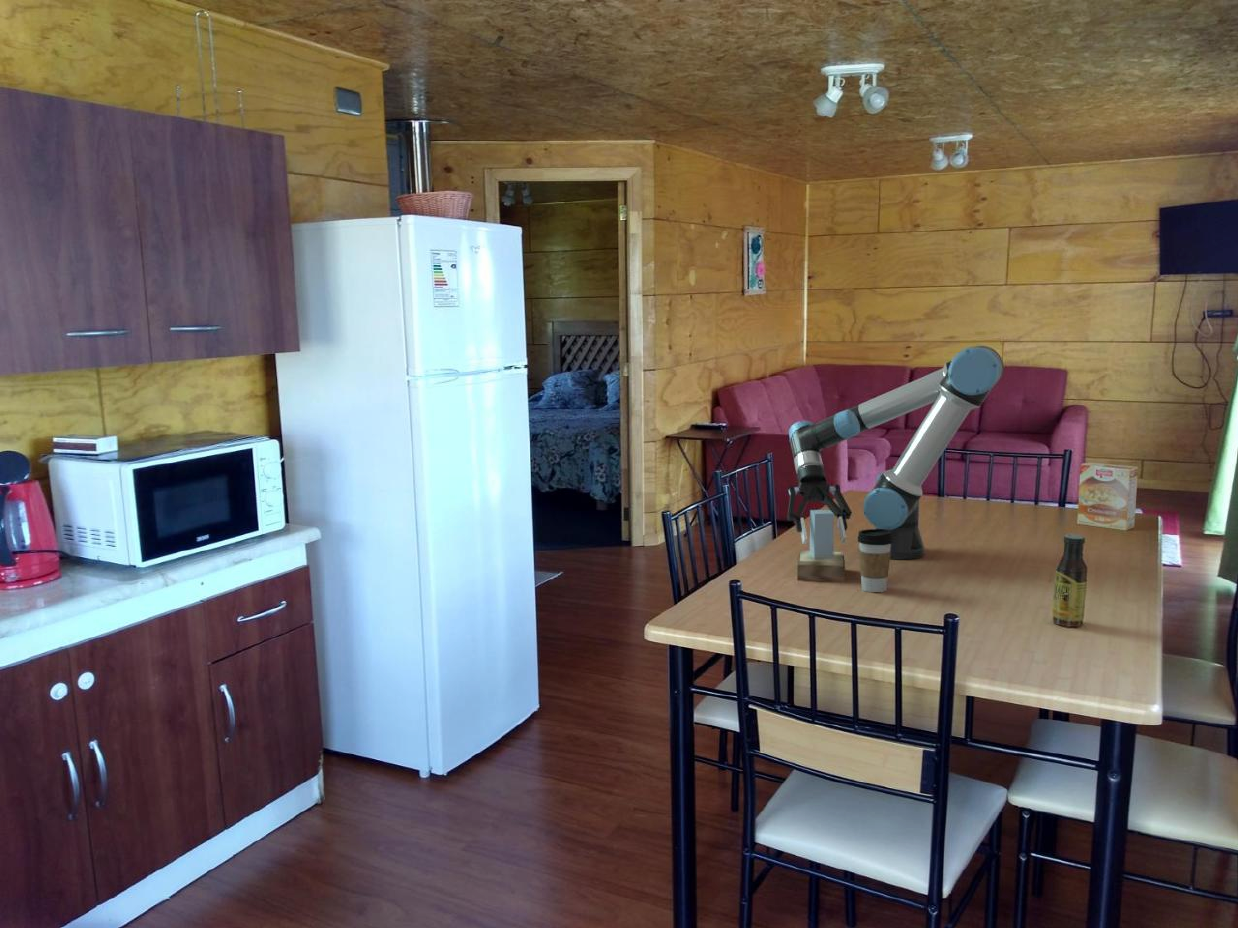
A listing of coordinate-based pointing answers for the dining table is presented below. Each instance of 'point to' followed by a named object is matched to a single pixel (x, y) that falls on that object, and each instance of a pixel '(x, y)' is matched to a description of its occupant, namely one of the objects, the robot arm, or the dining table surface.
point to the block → (821, 534)
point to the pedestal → (821, 567)
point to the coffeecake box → (1107, 495)
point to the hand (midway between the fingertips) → (824, 540)
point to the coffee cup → (874, 558)
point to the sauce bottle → (1070, 584)
